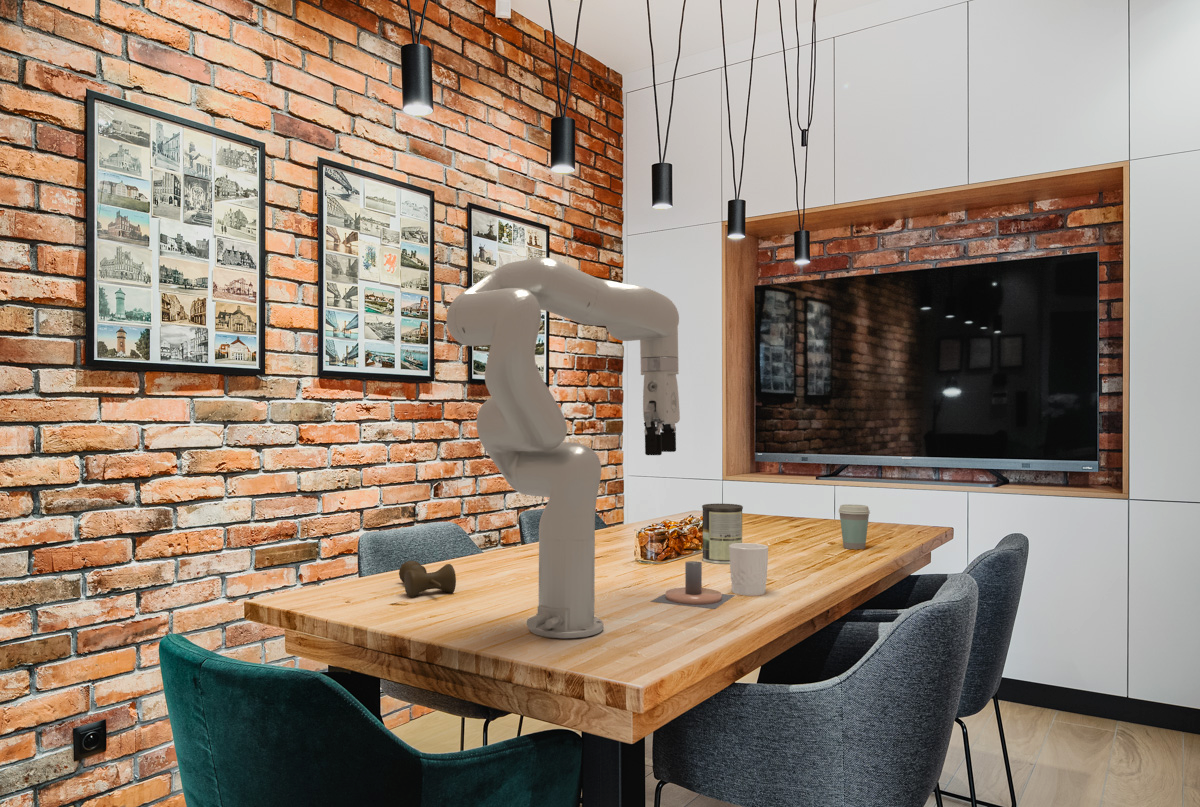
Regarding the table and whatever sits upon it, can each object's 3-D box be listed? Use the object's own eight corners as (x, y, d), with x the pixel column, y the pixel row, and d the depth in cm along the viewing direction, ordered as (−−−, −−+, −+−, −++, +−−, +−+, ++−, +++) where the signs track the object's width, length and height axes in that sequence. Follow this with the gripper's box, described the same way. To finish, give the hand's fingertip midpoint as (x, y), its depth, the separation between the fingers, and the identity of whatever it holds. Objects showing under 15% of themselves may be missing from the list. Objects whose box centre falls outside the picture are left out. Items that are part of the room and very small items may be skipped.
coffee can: (693, 560, 200) (693, 505, 200) (720, 555, 207) (720, 502, 207) (724, 565, 192) (724, 508, 193) (751, 561, 199) (751, 505, 199)
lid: (711, 607, 146) (711, 569, 146) (657, 600, 151) (657, 564, 151) (728, 595, 156) (728, 560, 156) (677, 590, 161) (677, 556, 161)
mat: (714, 612, 145) (714, 608, 145) (650, 604, 150) (650, 601, 150) (735, 598, 156) (735, 595, 156) (674, 591, 162) (674, 588, 162)
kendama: (431, 582, 173) (463, 597, 156) (388, 588, 168) (416, 604, 151) (430, 555, 173) (463, 567, 156) (387, 560, 168) (416, 573, 151)
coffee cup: (876, 549, 219) (876, 506, 219) (855, 551, 215) (855, 507, 215) (853, 545, 226) (852, 503, 227) (832, 547, 222) (831, 505, 222)
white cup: (765, 591, 163) (765, 543, 163) (770, 599, 155) (770, 549, 156) (727, 590, 164) (728, 542, 164) (730, 598, 156) (730, 548, 156)
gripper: (664, 365, 145) (666, 456, 145) (689, 368, 161) (690, 450, 162) (627, 366, 148) (628, 456, 148) (654, 369, 164) (656, 450, 164)
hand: (661, 453), depth 155 cm, fingers open, 9 cm apart
